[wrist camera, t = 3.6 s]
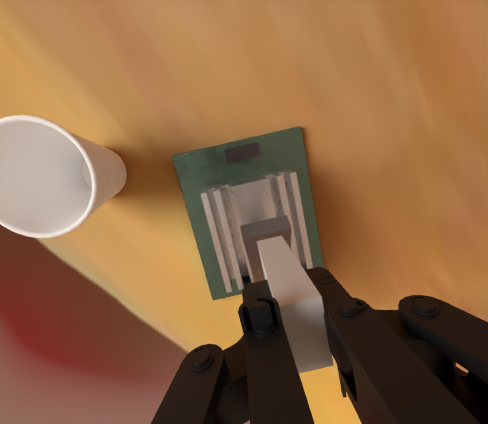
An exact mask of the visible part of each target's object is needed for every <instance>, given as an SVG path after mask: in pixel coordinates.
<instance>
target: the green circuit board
mask: <svg viewBox="0 0 488 424" xmlns="http://www.w3.org/2000/svg"><path fill="white" fill-rule="evenodd" d="M172 158H173V162H174V165H175V169H176V172H177V176H178V179H179V183H180V186H181V190H182V193H183V197H184V200H185V204H186V208H187V211H188V215H189V218H190V222H191V225H192V229H193V232H194V236H195V239H196V243H197V246H198V250H199V253H200V257H201V260H202V264H203V267H204V271H205V274H206V278H207V281H208V285H209V289H210V292H211V296H212V299H213V300H217V299H221V298H225V297H230V296H234V295H238V294H242V295H243V290H244V288H245V286H246V284H249V283H254V278H253V274H252V271H251V267H250V264H249V260H248V257H247V253H246V249H245V246H244V242H243V238H242V234H241V229H240V226H241V225H245V224H249V223H254V222H258V221H262V220H267V219H271V218H275V217H280V216H284V215H287V217H288V219H289V222H290V225H291V228H292V232H291V251H292V252H293V254H294V255H295V257H296V258H297V260H298V261H299V263H300V264H301V266H302V267H303V269H304V270H306V269H310V268H315V267H319V266H320V267H322V268H324V263H323V257H322V251H321V245H320V239H319V233H318V227H317V221H316V215H315V209H314V203H313V196H312V190H311V184H310V178H309V172H308V166H307V160H306V154H305V148H304V142H303V136H302V130H301V126H299V127H295V128H291V129H286V130H282V131H278V132H273V133H269V134H265V135H260V136H256V137H252V138H247V139H243V140H239V141H235V142H230V143H226V144H222V145H217V146H213V147H209V148H204V149H200V150H196V151H191V152H187V153H183V154H178V155H174V156H172ZM243 302H244V300H243Z"/></svg>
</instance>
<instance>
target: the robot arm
mask: <svg viewBox="0 0 488 424" xmlns="http://www.w3.org/2000/svg"><path fill="white" fill-rule="evenodd" d="M257 245H258V249H259V254H260V258H261V263H262V267H263V271H264V276H265V280H262V281H258V282H254V283H249V284H246V286H245V288H244V290H243V300H244V302H243V303H242V304H241V306H240V307H239V310H238V314H239V317H240V321H241V325H242V329H243V333H244V335H243V336H242V338H241V339H240V340H239V341H238V342H237V343H235V344H234V345H232V346H231V347H229V348H227V349H225V350H223V351H222V349H221V348H220V347H219V346H217V345H214V344H206V345H201V346H199V347H197V348H195V349H193V350H192V351H191V352H190V353H189V354H187V355H186V357H185V358H184V360H183V361H182V363H181V365H180V367H179V369H178V371H177V373H176V375H175V377H174V379H173V381H172V383H171V385H170V387H169V389H168V391H167V393H166V395H165V397H164V399H163V401H162V403H161V405H160V407H159V409H158V410H157V413H156V415H155V417H154V418H153V420H152V422H151V424H244V423H245V422H247V421H249V420H250V424H314V420H313V417H312V414H311V411H310V408H309V405H308V401H307V398H306V395H305V392H304V389H303V386H302V382H301V379H300V376H299V373H303V372H307V371H311V370H315V369H320V368H324V367H328V366H333V359H332V355H333V357H334V359H335V361H336V363H337V367H338V373H339V379H340V384H341V390H342V395H343V398H344V397H347V396H346V392H347V394H348V396H349V398H350V400H351V402H352V404H353V406H354V408H355V410H356V412H357V414H358V416H359V419H360V421H361V423H362V424H488V322H486V321H484V320H482V319H480V318H478V317H476V316H473V315H471V314H469V313H467V312H465V311H463V310H461V309H459V308H456V307H454V306H452V305H450V304H448V303H446V302H444V301H442V300H439V299H436V298H433V297H429V296H423V295H412V296H408V297H404V298H403V299H402V300H400V302H399V305H398V307H399V310H375V309H372V308H371V307H370V306H369V305H368V304H367V303H366V302H364V301H363V300H360V299H357V298H352V297H351V296H350V295H349V294H348V292H347V291H346V290H345V289H344V288H343V287H342V285H341V284H340V283H339V282H338V281H337V280H336V279H335V277H333V275H332V274H331V273H330V272H329V271H328V270H327V269H324V268H322V267H320V266H319V267H315V268H310V269H306V270H304V269H303V267H302V266H301V264H300V263H299V261H298V260H297V258H296V257H295V255H294V254H293V252H292V251H291V249H290V248H289V246H288V245H287V243H286V241H285V240H284V238H283V237H282V236H277V237H273V238H269V239H264V240H260V241H257ZM456 363H458V364H459V365H461V366H462V367H464V368H465V369H467V370H468V373H467V372H464V371H462V370H461V369H459V368H458V367H456Z"/></svg>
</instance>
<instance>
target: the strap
mask: <svg viewBox="0 0 488 424" xmlns="http://www.w3.org/2000/svg"><path fill="white" fill-rule="evenodd" d="M240 229H241V234H242V238H243V242H244V246H245V249H246V253H247V257H248V260H249V264H250V267H251V271H252V274H253V278H254V282H258V281H262V280H265V276H264V271H263V267H262V263H261V258H260V254H259V249H258V245H257V241H260V240H264V239H269V238H273V237H277V236H282V237H283V238H284V240H285V241H286V243H287V245H288V246H289V248H290V249H291V232H292V228H291V225H290V222H289V219H288V217H287V215H284V216H280V217H275V218H271V219H267V220H262V221H258V222H254V223H249V224H245V225H241V226H240Z"/></svg>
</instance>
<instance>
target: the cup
mask: <svg viewBox="0 0 488 424" xmlns="http://www.w3.org/2000/svg"><path fill="white" fill-rule="evenodd" d="M126 178H127V172H126V167H125V165H124V163H123V161H122V159H121V158H120V157H119V156H118V155H117V154H116V153H115V152H113V151H112V150H110V149H108V148H105V147H103V146H101V145H98V144H96V143H94V142H91V141H89V140H87V139H84V138H82V137H80V136H78V135H75V134H73V133H71V132H69V131H68V130H66V129H64V128H63V127H61V126H60V125H58V124H57V123H54V122H52V121H49V120H47V119H44V118H40V117H36V116H31V115H15V116H9V117H4V118H2V119H0V224H1V225H2V226H4V227H6V228H8V229H10V230H11V231H13V232H16V233H19V234H22V235H25V236H29V237H35V238H52V237H58V236H62V235H65V234H67V233H69V232H72V231H73V230H75V229H76V228H78V227H79V226H81V225H82V224H83V223H84V222H85V220H86V219H87V218H88V217H89V215H91V214H92V213H93V212H94V211H96V210H97V209H98V208H99V207H101V206H102V205H103V204H104V203H106V202H107V201H108V200H110V199H111V198H112V197H113V196H115V195H116V194H117V193H119V192H120V191H121V190H122V188H123V187H124V185H125V182H126Z"/></svg>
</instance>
